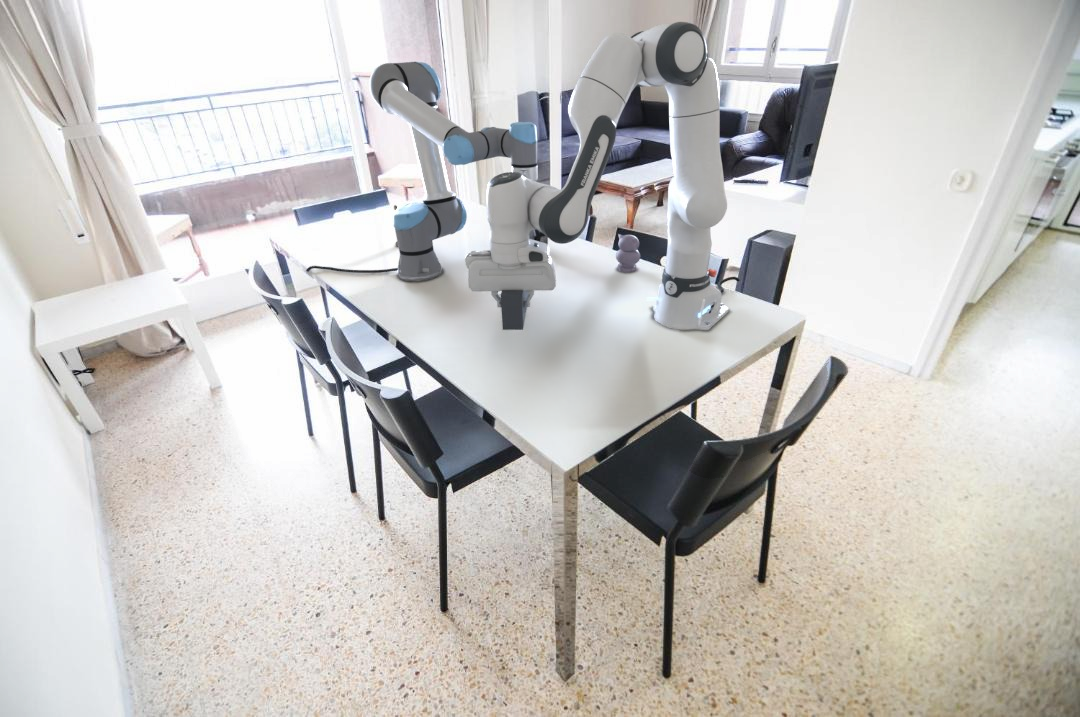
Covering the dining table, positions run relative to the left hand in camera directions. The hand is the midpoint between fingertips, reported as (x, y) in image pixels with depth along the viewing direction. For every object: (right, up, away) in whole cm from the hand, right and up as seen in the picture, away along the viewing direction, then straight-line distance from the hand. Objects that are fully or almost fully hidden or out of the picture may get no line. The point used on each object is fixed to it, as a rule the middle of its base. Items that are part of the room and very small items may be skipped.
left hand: (527, 257), depth 157 cm
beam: (-1, -12, -19) cm, 22 cm away
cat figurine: (+35, -1, +16) cm, 38 cm away
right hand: (-2, -20, -39) cm, 44 cm away
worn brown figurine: (-50, +16, +49) cm, 71 cm away
